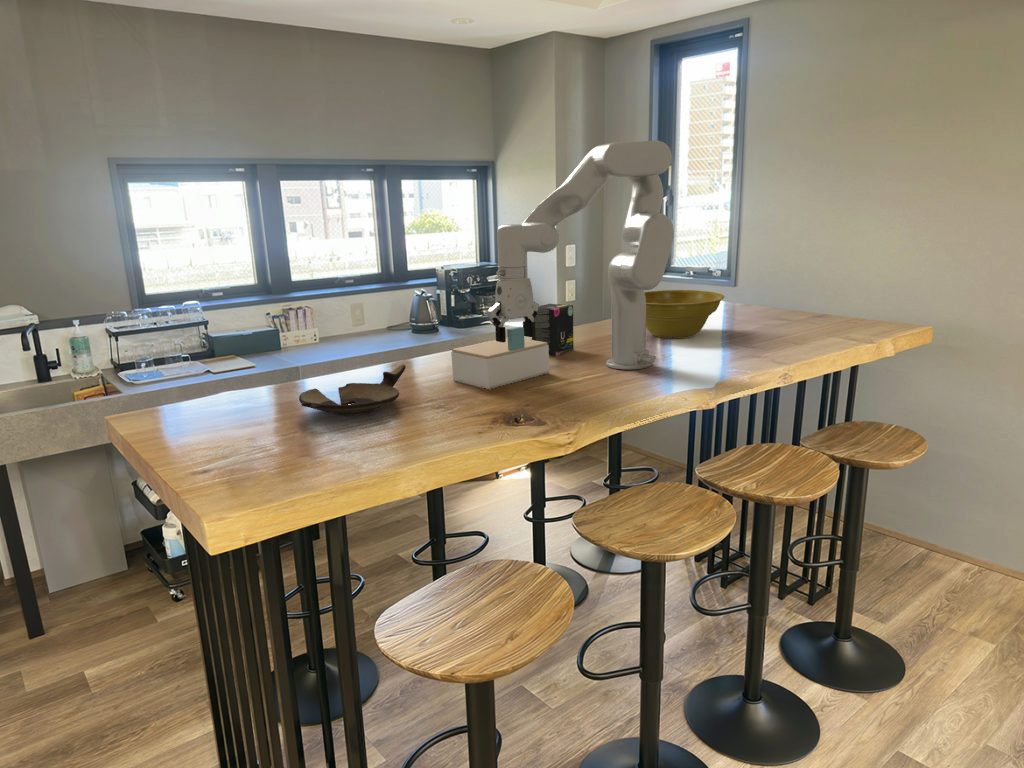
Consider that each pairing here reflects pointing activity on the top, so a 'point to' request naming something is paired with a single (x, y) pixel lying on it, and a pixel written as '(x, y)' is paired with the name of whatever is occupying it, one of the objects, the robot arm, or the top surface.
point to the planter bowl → (679, 311)
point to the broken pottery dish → (356, 396)
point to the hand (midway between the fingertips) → (514, 339)
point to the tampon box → (554, 327)
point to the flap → (501, 345)
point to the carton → (500, 367)
